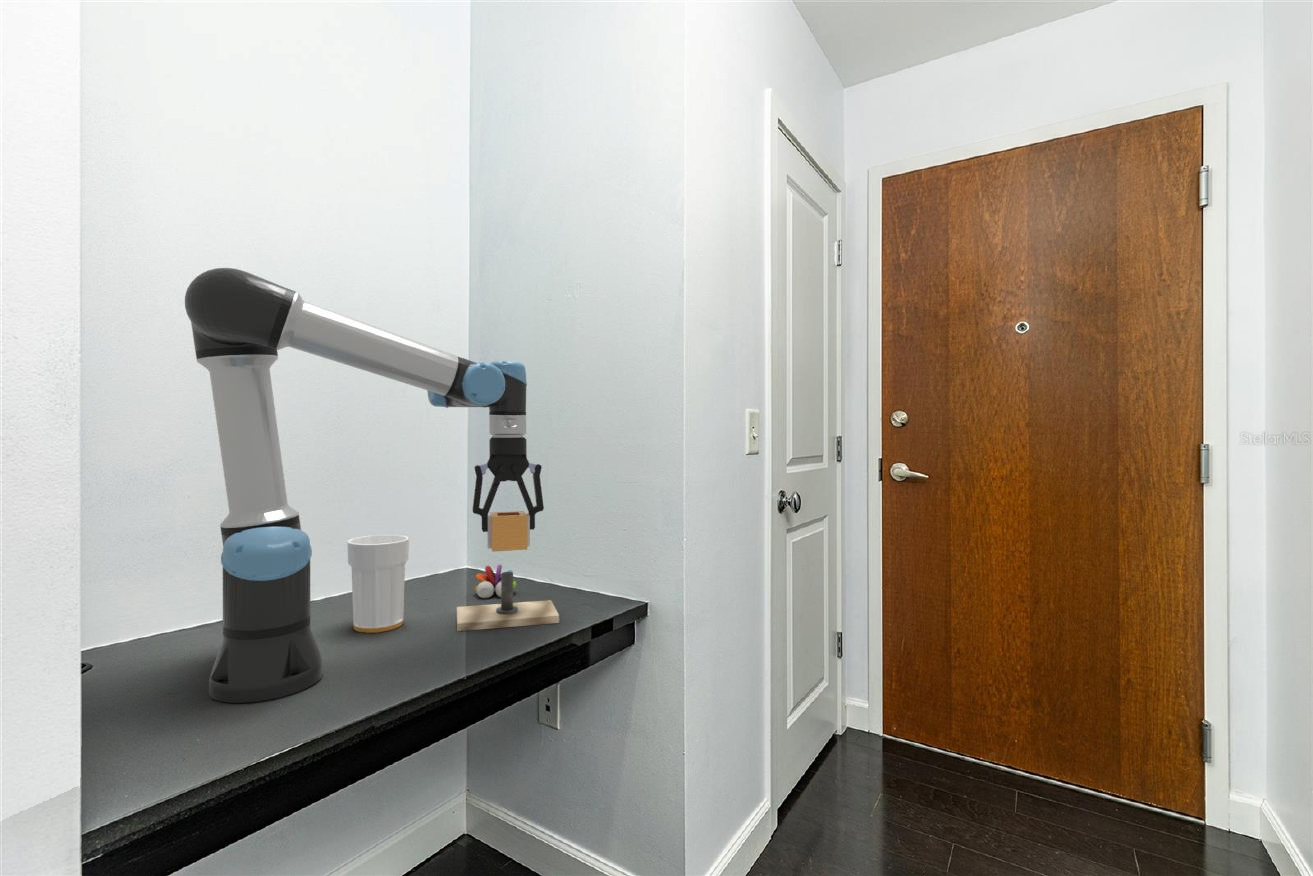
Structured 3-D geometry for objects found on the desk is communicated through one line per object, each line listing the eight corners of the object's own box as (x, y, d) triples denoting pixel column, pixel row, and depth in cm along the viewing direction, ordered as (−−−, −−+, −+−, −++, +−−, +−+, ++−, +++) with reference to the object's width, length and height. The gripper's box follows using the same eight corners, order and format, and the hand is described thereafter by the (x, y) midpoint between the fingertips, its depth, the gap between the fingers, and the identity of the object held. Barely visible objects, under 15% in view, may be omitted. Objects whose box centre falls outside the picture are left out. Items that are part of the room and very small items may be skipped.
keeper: (456, 631, 125) (457, 583, 125) (456, 614, 136) (457, 569, 136) (559, 622, 131) (559, 576, 130) (551, 606, 142) (551, 564, 142)
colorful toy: (476, 591, 155) (476, 561, 155) (517, 589, 157) (517, 560, 157) (472, 600, 147) (472, 569, 147) (515, 599, 149) (515, 568, 149)
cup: (416, 627, 127) (417, 540, 127) (356, 638, 120) (356, 546, 120) (398, 614, 136) (398, 532, 136) (340, 624, 129) (340, 538, 128)
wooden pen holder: (492, 551, 129) (491, 517, 129) (490, 545, 136) (490, 512, 135) (527, 549, 131) (527, 515, 131) (524, 543, 138) (523, 511, 137)
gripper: (457, 437, 126) (458, 552, 127) (558, 436, 132) (559, 546, 133) (457, 436, 133) (458, 545, 134) (553, 435, 139) (553, 540, 140)
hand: (508, 546), depth 133 cm, fingers closed on wooden pen holder, 7 cm apart
